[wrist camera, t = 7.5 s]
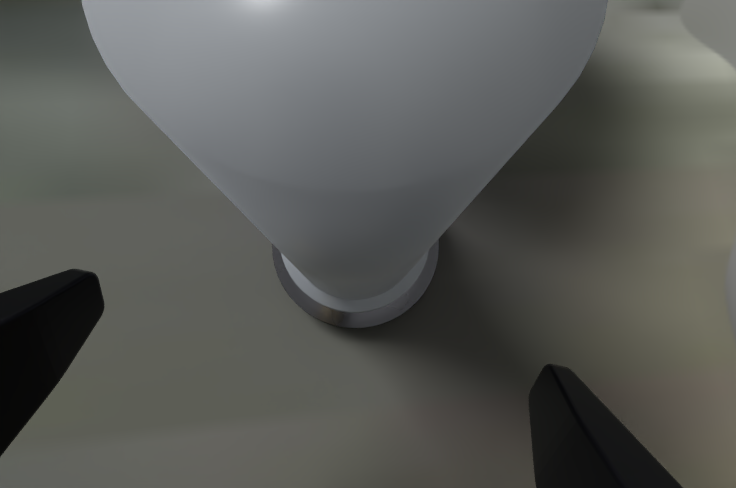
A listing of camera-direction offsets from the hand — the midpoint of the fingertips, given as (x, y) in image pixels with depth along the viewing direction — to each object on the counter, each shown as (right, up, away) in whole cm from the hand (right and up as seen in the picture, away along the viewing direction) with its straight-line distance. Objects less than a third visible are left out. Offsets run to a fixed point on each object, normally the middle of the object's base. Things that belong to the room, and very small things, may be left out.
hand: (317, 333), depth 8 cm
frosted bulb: (0, +2, +8) cm, 8 cm away
